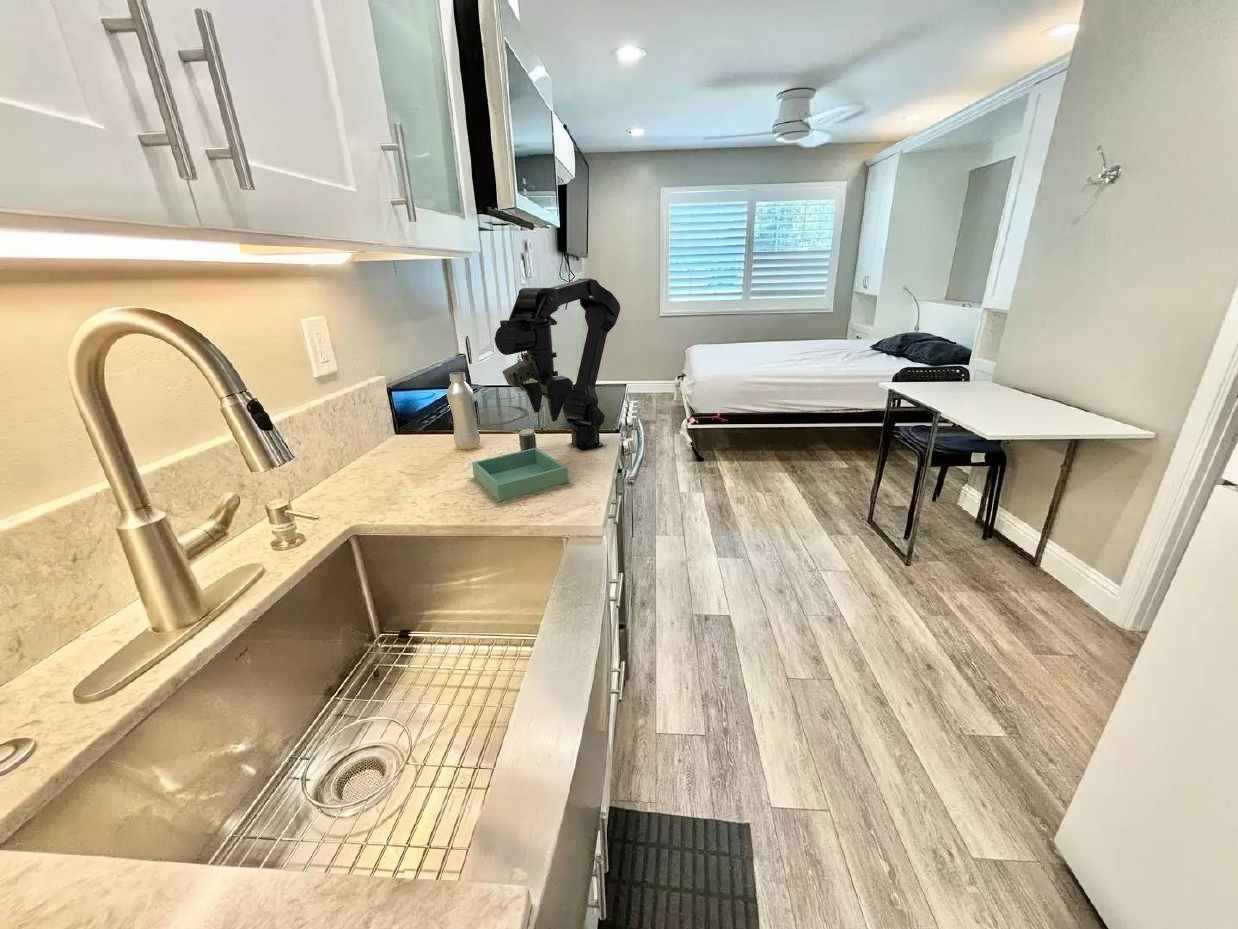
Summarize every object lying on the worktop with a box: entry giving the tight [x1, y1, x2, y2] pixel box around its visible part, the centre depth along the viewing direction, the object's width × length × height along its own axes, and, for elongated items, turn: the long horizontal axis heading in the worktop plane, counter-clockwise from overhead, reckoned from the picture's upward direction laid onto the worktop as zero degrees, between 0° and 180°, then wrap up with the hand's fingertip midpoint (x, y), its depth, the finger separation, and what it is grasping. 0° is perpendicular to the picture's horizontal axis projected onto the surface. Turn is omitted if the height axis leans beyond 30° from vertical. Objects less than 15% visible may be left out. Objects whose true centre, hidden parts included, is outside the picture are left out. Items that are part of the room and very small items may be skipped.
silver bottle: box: [446, 371, 481, 450], centre depth 127 cm, size 6×7×20 cm
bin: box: [471, 447, 569, 502], centre depth 107 cm, size 16×16×4 cm
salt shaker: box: [518, 428, 538, 451], centre depth 121 cm, size 4×4×7 cm
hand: (545, 416), depth 114 cm, fingers open, 9 cm apart
